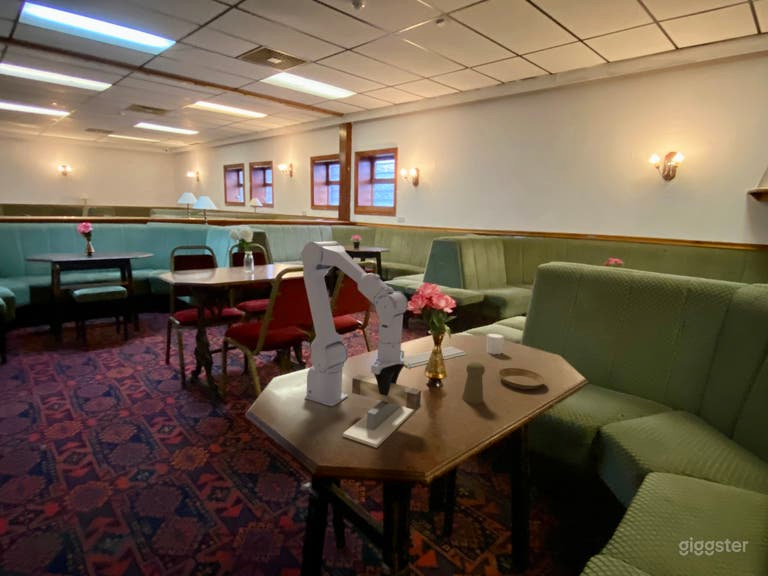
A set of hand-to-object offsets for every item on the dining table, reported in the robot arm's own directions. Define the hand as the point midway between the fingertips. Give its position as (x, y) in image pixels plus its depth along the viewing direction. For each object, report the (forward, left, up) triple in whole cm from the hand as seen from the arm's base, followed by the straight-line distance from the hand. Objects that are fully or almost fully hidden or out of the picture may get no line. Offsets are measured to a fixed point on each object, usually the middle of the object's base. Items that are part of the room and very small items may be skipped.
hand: (386, 392), depth 106 cm
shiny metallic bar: (0, 0, -2) cm, 2 cm away
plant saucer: (+26, +47, -8) cm, 54 cm away
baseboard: (-7, +52, -8) cm, 53 cm away
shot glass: (+11, +74, -8) cm, 75 cm away
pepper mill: (+16, +25, -8) cm, 31 cm away
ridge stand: (0, 0, -7) cm, 7 cm away
